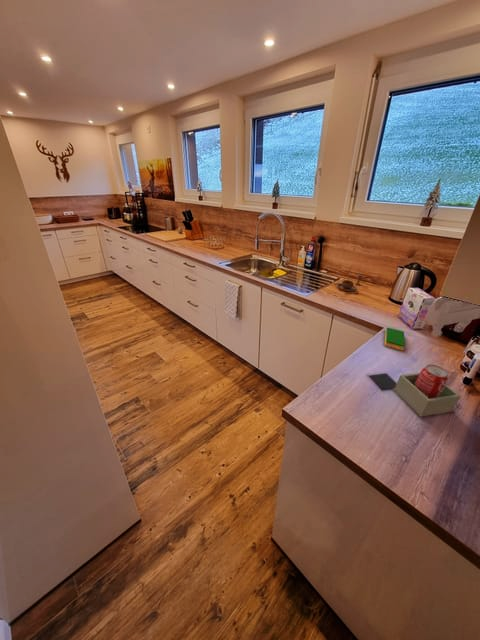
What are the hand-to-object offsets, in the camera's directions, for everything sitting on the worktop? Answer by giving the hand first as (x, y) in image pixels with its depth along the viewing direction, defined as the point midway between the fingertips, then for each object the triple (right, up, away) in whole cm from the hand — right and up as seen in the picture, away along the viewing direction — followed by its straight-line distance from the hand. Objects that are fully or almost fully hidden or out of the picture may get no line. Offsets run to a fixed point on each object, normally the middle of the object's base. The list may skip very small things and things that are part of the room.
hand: (446, 333), depth 77 cm
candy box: (+26, +3, +56) cm, 62 cm away
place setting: (+12, +24, +95) cm, 98 cm away
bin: (-1, -22, +9) cm, 24 cm away
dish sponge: (+8, -5, +40) cm, 42 cm away
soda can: (-1, -22, +9) cm, 24 cm away
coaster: (-10, -18, +16) cm, 26 cm away
